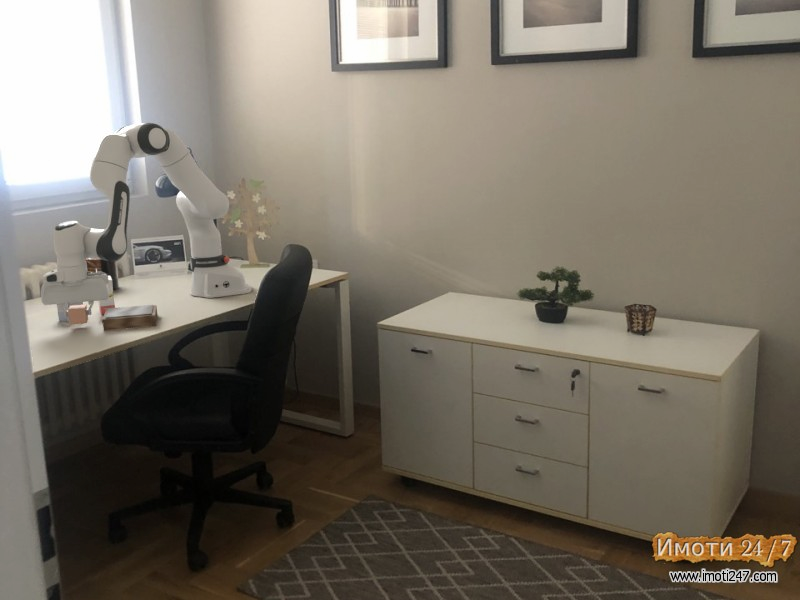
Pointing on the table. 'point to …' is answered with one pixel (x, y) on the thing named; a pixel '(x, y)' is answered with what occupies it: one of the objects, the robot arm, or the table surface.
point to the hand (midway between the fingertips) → (78, 315)
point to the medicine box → (67, 305)
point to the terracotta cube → (77, 314)
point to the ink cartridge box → (110, 301)
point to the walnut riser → (130, 317)
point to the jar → (104, 269)
